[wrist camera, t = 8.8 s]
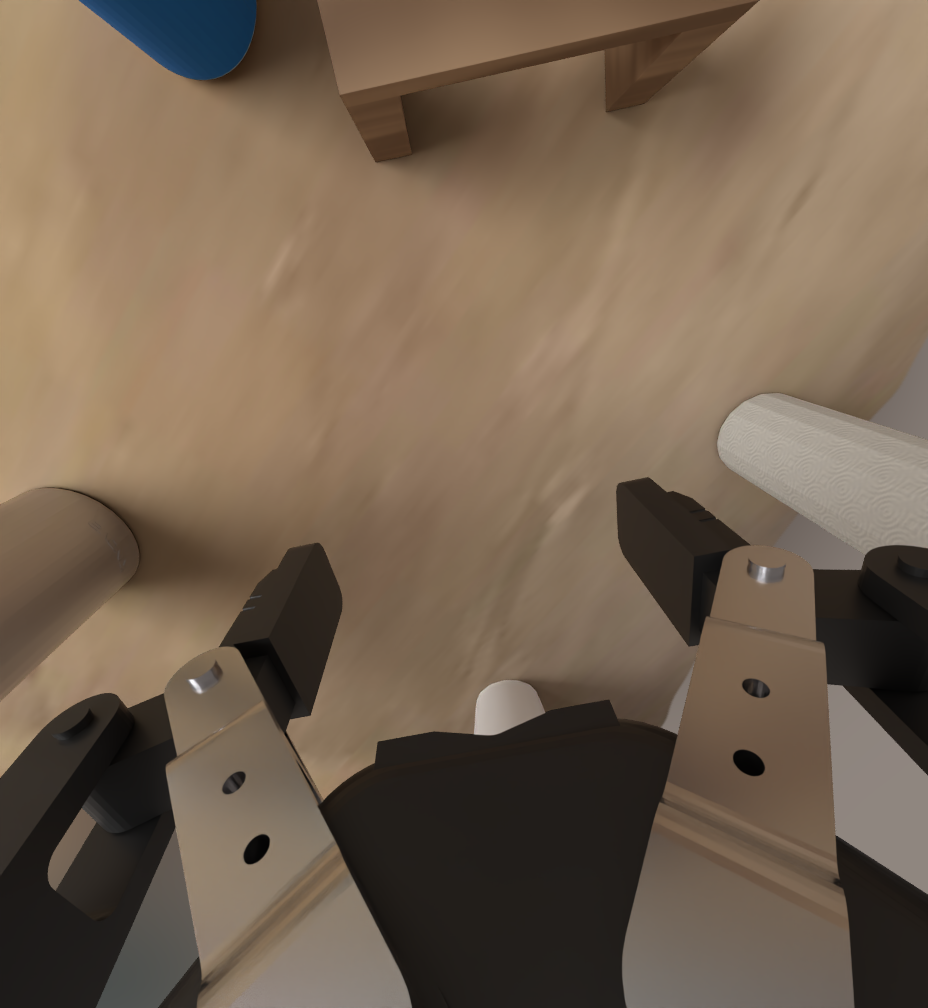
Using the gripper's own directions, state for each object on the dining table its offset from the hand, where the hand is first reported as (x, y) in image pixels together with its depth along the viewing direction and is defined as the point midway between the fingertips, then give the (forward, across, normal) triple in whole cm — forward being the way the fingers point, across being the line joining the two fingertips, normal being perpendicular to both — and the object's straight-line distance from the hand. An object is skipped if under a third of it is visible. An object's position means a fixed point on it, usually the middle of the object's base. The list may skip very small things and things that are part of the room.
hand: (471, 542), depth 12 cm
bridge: (+19, -6, -14) cm, 25 cm away
